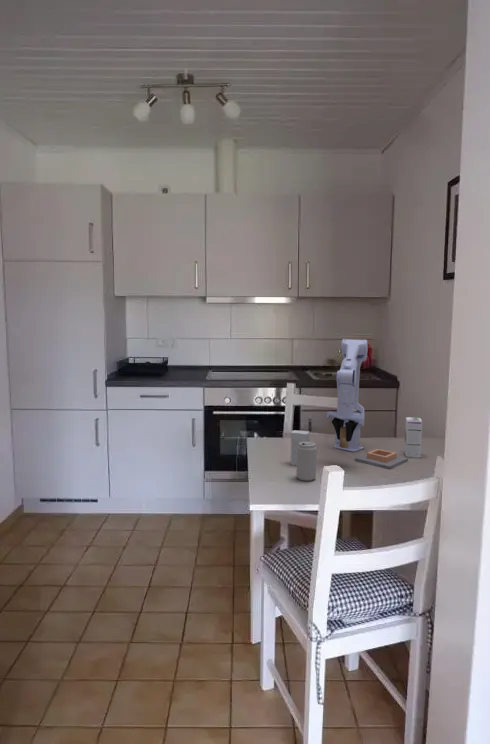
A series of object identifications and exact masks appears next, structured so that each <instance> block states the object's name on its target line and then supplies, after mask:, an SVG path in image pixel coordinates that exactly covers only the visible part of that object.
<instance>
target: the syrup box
mask: <svg viewBox="0 0 490 744" xmlns="http://www.w3.org/2000/svg"><path fill="white" fill-rule="evenodd" d="M404 425H405V429H404V452H403V453H404V455H405V458H417V459H418V458H419V459H421V458H422V457H421V456H422V442H423V441H422V439H423V420H422V418H421V417H411V416H409V417H405V424H404Z"/></svg>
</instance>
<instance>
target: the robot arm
mask: <svg viewBox="0 0 490 744" xmlns="http://www.w3.org/2000/svg"><path fill="white" fill-rule="evenodd" d="M368 347H369V345H368V340H367V339H352V338H351V339H349V338H348V339H347V338H343V339H342V340H341V347H340V349H341V350H340V351H341V356H342V361H341V364H340V369H339V370H337V372H336V389H337V400H336V401H337V405H336V406H337V407H336V409H337V410H336V411H326V418H327V419H328V418H329V419H332V420H331V423H332V425H333V428H334V431H335V434H334V435H335V439H334V440H335V441H334V446H333V449H334V448H335V449H339V450H343V451H348V452H352V453H355V452H358V451H360V450H363V449H365V447H364V446H361V428H362V427H364V426H365V417H366V415H365V411H366V410H365V408H364V406H363V405H361V404H360V403H359V393H360V392H359V391H360V390H359V389H360V377H361V375H360V374H361V373H360V372H361V365H362V363H363V362H366V361H367V358H368V350H369V349H368ZM340 427H346V441H347V442H349V447H348V448H341V447H339V445H340Z"/></svg>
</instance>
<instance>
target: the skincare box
mask: <svg viewBox="0 0 490 744" xmlns="http://www.w3.org/2000/svg"><path fill="white" fill-rule="evenodd" d="M310 433H311V432H310V430H309V431H308V430H307V431H306V430H296V429H295V430H292V432H291V433H290V442H291V443H290V465H291V466H297V447H298V445H299V443H300V442H310V435H311V434H310Z"/></svg>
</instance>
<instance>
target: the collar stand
mask: <svg viewBox="0 0 490 744" xmlns="http://www.w3.org/2000/svg"><path fill="white" fill-rule="evenodd" d="M408 459H409V457H406V456H405V457H403V456H400V455H398V452H394V451H389V450H386V449H379V448H376V449H373V450H370V451H368V452H366V453H364V454H362V455H359V456H357V457H355V458H354V461H355V462H359V463H363V464H366V465H371V466H375V467H378V468H383V469H388V470H392V469H393V468H396V467H398V466H399V465H402V464H403V463H407V462H408Z"/></svg>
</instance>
